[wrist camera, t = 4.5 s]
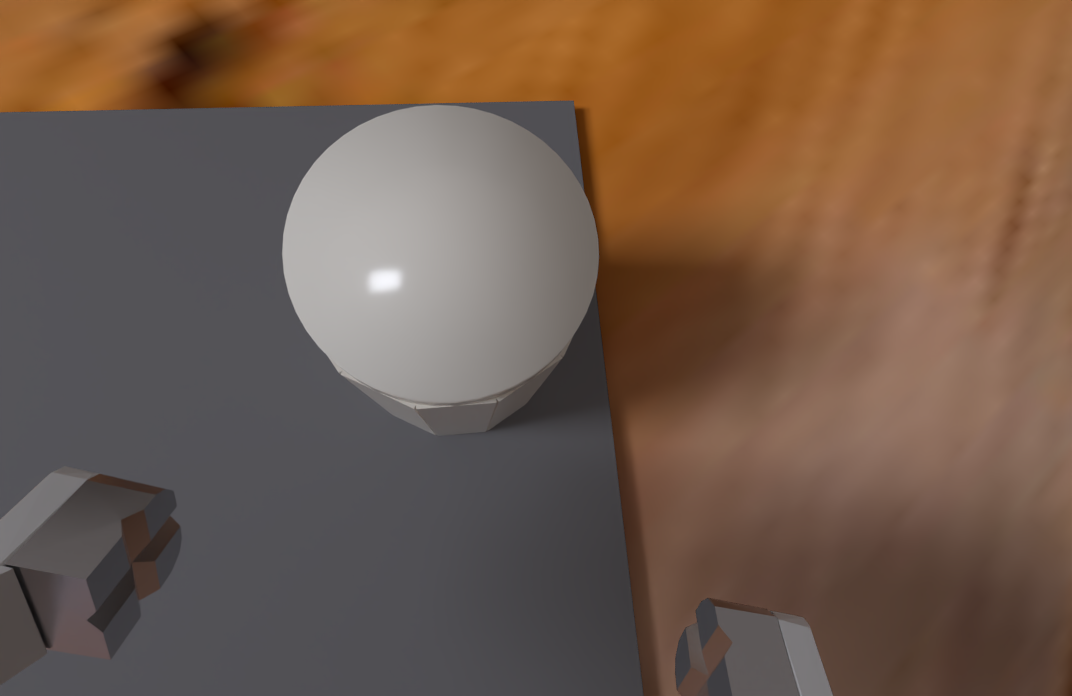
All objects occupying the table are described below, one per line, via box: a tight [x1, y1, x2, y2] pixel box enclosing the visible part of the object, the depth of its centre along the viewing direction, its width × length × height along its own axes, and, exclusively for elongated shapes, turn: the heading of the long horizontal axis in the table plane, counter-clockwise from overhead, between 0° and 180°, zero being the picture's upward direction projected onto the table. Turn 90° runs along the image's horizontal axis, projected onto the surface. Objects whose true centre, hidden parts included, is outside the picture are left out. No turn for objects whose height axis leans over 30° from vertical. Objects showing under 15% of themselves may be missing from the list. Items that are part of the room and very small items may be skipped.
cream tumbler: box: [282, 105, 599, 436], centre depth 16 cm, size 6×6×9 cm
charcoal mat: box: [0, 101, 644, 696], centre depth 20 cm, size 22×20×1 cm
